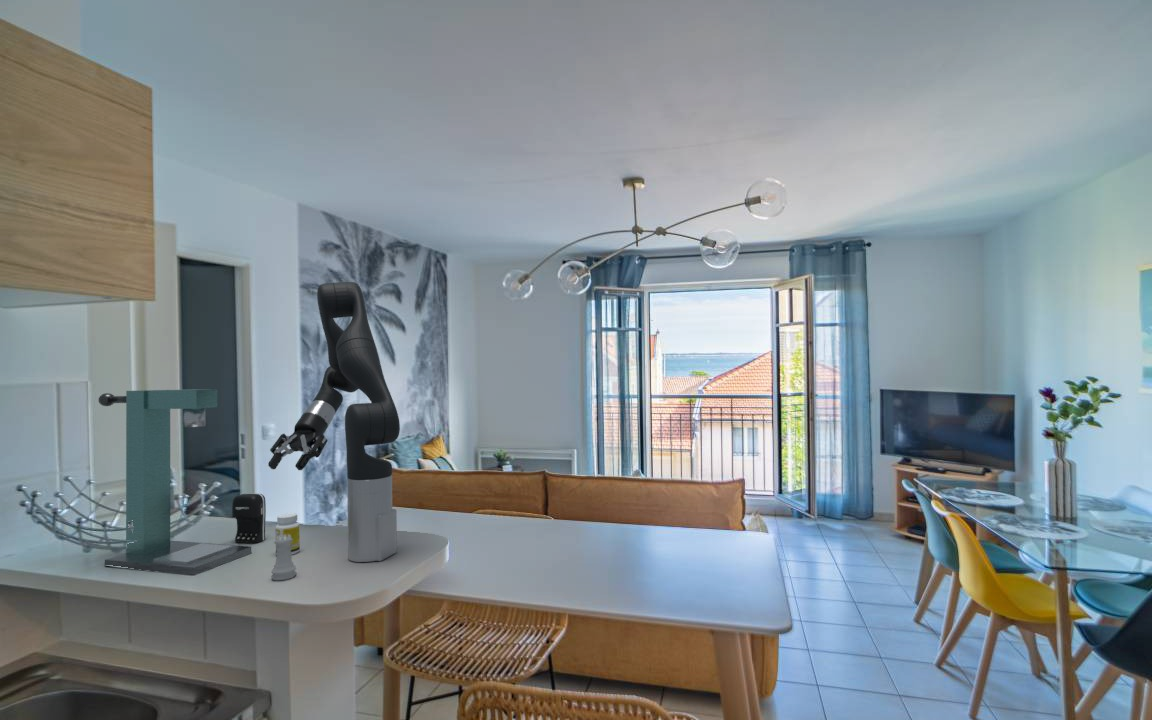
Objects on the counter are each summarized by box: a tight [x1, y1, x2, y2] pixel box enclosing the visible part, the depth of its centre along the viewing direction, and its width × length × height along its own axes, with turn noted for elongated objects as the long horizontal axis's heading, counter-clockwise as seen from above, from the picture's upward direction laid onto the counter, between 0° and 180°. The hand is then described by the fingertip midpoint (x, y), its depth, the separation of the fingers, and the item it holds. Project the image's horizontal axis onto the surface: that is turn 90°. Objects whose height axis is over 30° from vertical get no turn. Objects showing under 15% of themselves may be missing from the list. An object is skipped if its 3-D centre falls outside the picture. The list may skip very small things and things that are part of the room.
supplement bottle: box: [275, 512, 301, 556], centre depth 125 cm, size 5×5×8 cm
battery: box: [231, 492, 267, 544], centre depth 134 cm, size 7×4×11 cm, turn 79°
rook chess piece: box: [270, 535, 297, 582], centre depth 110 cm, size 4×4×8 cm
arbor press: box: [98, 388, 252, 576], centre depth 124 cm, size 35×14×37 cm, turn 75°
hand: (284, 468), depth 146 cm, fingers open, 8 cm apart
